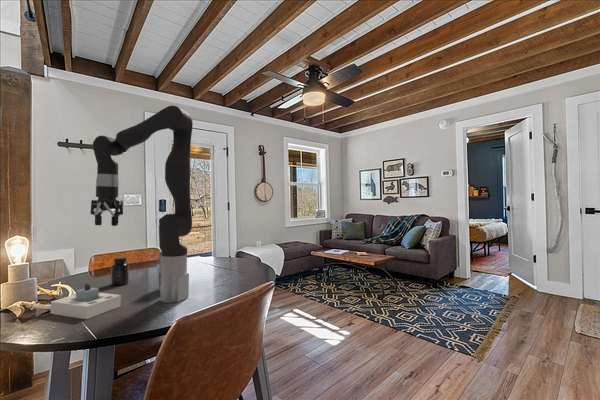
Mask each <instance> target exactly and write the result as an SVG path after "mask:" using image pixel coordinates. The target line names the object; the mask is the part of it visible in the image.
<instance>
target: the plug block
mask: <svg viewBox="0 0 600 400" xmlns="http://www.w3.org/2000/svg"><path fill="white" fill-rule="evenodd" d="M91 286H92V284H91V283H89V282H88V283H84V288H82V289H79V290H75V294H76V301H81V302H90V301H93V300H97V299H99V293H100V292H99V291H100V288H97V287H91Z"/></svg>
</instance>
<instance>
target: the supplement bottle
mask: <svg viewBox="0 0 600 400" xmlns="http://www.w3.org/2000/svg"><path fill="white" fill-rule="evenodd" d="M113 259H114V261H113V263H114V264H112V265H111V268H110V269H111V270H110V272H111V273H110V285H111V286H114V287H117V286H118V287H120V286H125V285H127V284H129V280H130V279H129V278H130V274H129V273H130V265H129V263H127V257H126V256H123V257H116V258H113Z"/></svg>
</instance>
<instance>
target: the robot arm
mask: <svg viewBox="0 0 600 400" xmlns="http://www.w3.org/2000/svg"><path fill="white" fill-rule="evenodd" d="M193 125H194V123H193V119H192V116H191V115H190V114H189V113H188V112H187V111H185V110H184V109H182V108H181V107H180V106H177V105H168V106H166V107H164V108H163V109H161V110H159V111H157V112H156V113H154V114H153V115H151V116H150V117H148V118H146V119H145V120H143V121H142V122H140V123H138V124H135V125H133V126H130V127H128V128H125V129H122V130H121V131H118V132H117V133H116V134H115V138H113V137H109V136H107V135H98V136H96V137H95V138H94V140H93V142H92V148H93V153H94V157H95V160H96V164H97V166H96V167H97V168H96V169H97V171H96V181H95V198H98V199H91V201H90V202H91V203H90V215H93V216H94V225H95V226H102V223H103V222H102V221H103V219H102V218H103V217H102V215H103V214H104V213H105V212H106V211H107V212H108V213H110V214H111V221H110V222H111V224H110V225H111V226H112V227H116V226H118V225H119V217H120V216H122V215H124V200H123V199H117V198H119V184H120V183H119V163H118V162H117V161H115V160H114V159H113V158H112V156H114V157H115V156H116V157H117V156H120V155H122V154H124V153H125V152H127V151H128V150H130V148H133V147H135V146H138V145H140V144H142V143H145V142H146V141H148V139H150V138H151V136H152V135H153V134H154V133H155V134H156V133H157V132H159V131H161V130H162V131H163V130H167V129H169V130H171V131H172V133H173V134H172V135H173V138H172V139H173V143H172V144H173V145H172V148H171V150H170V152H169V154H168V156H167V158H166V161H165V163H164V164H165V165H164V180H165V185H166V186H167V188H168V191H169V192H170V195H171V197H172V198H173V201H174V213H167V214H165V215H163V216H162V217H161V218H160V219H159V223H158V242H159V245H158V246H159V249H160V253H161V291H159V292H160V299H159V301H160V302H161V303H167V304H170V303H180V302H182V301H184V300H186V299H188V298H189V294H190V293H189V291H190V290H189V289H190V288H189V287H190V274H189V273H188V247H187V246H185V245H182V244H181V242H180V237H185V236H188V235H189V234H190V233H191V232H192V231H191V230H192V228H193V216H192V207H191V184H190V183H191V142H192V134H193Z"/></svg>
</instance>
